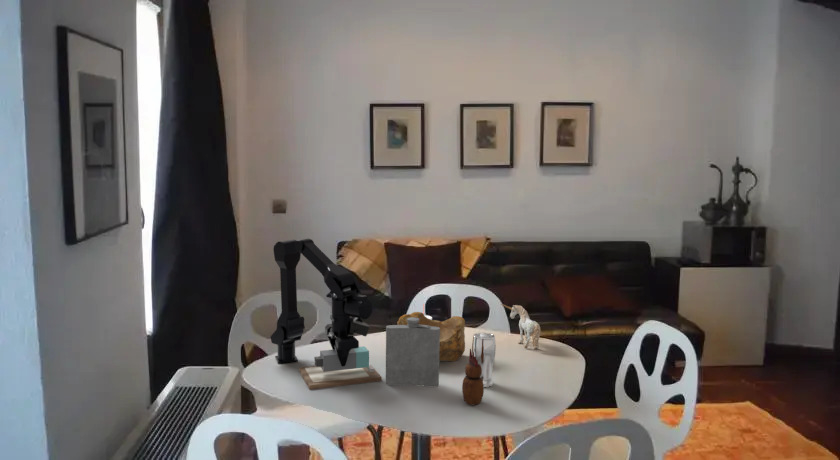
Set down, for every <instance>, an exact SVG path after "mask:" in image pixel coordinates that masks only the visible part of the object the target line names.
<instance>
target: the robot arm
mask: <svg viewBox="0 0 840 460" xmlns="http://www.w3.org/2000/svg"><path fill="white" fill-rule="evenodd" d="M301 255H302V256H304V257H305V259H306V260H308V262H309V263H310V264H311V265H312V266H313V267H314V268H315V269H316V270H317V271H318V272H319V273H320V274H321V275H322V277H323V282H324V284H325V285H326V286H327V288H328V289H329V292H328V293H327V294H326V298H328V299H329V298H330V299H331V315H330V316H329V319H330V320H331V323H328V324H326V325H325V326H324V334H325V335H326V336H327V337H326V338H327V340H328V342H329V345H330V347H331V350H333V349H335V350H336V353H337V355H338V358H339V361H340V363H341V366H345V365H346V362H347V358H348V355H349V352H350V350H351V349H355V348H359V347H360V341H359V340H358V339H357V338H356V337H355V336H354V335H355V334H358V335H362V337H367V336H368V333H369V330H370V325H369V324H368V323H366V322H365V321H363V320H367V319H369V318H370V317H371V315H372V312H373V304H372V303H371V301H370V300H369V299H368V296H367V295H365V294H364V295H362V293H361V290H360V287H359V285H358V284H357V282H356V280H355V278H354V275H353V274H352V272H351V271H349V270H347V268H345V267H343V266H340V265H337V264H336V263H334V262H333V261H332V260H331V259H330V258H329V257H328V256H327V255H326V254H325V253H324V252H323V251H322V250H321V249H320V248H319V247H318V246H317V245H316V244H315V243H314V240H313V239H312V238H301V239H297V240H296V239H288V240H280V241H277V242H276V243H275V244H274V245H273V256H274V261H275V263H276V264H277V266H278V268H279V271H280V272H279V273H280V274H279V275H280V276H279V277H280V298H281V299H280V303H281V305H280V307H281V313H280V315H279V316H278V319H277V322H276V329H275V331H274V332H273V333H272V334H271V335H270V340H271V341H270V342H271V344H274V345H277V347H276V348H277V350H276V351H277V355H275V360H276V362H277V364H284V363H285V364H286V363H294V362H295V363H296V362H298V361H299V359H298V357H297V356H296V342H297V341H301V339H302V335H303V334H304V331H305V328H306V327H305V318H304V316H301V314H300V313H299V312H298V296H297V295H298V294H297V293H298V292H297V291H298V290H297V266H298V264H299V262H300V260H301Z"/></svg>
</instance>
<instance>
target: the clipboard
mask: <svg viewBox="0 0 840 460" xmlns="http://www.w3.org/2000/svg"><path fill="white" fill-rule="evenodd" d="M298 369H299V371H300V372H299V371H298V372H299V373H300V375H301V377H302V379H303V380H304V382H305V384H306V386H307V388H308V389H309V390H316V389H323V388H330V387H331V388H333V387H340V386H341V387H342V386H349V385H357V384H366V383H374V382H383V381H382V375H381V374H380V373H379V372H378V371H377V370H376V369H375V367H374V366H373V365H372V363H370V362H369V367H364V368H355V369H347V370H338V371H329V372H324V371H323V370H322V368H321V367H316V366H315V365H311V366H301V367H298Z"/></svg>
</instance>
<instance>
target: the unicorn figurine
mask: <svg viewBox="0 0 840 460" xmlns="http://www.w3.org/2000/svg"><path fill="white" fill-rule="evenodd" d="M500 305H501V306H502V307H505V308H507V309H509V310H511V312H510V314H509V318H511V319H512V320H513V319H515V316H516V315H519V317H520V319H519V322H518V326H519V331H520V333H519V334H520V338H519V340H518V344H521V345H523V344H524V345H523V346H524V349H528V346H529V344H530V343H529V341H531V339H532V347H533V349H534V350H538V349H539V348H540V345H539V340H540V336H541V326H540V324H539V323H538V322H537V321H535V320H532V319H530V316H529V313H528V311H527V310H526V309H525V308H524V307H523V306H522V305H518V304H515V305H514V304H513V305H512V307H511V306H508V305H506V304H503V303H501V304H500ZM531 336H532V338H531ZM524 339H525V342H524Z"/></svg>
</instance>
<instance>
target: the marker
mask: <svg viewBox="0 0 840 460" xmlns="http://www.w3.org/2000/svg"><path fill="white" fill-rule="evenodd" d="M369 363H370V351H369V349H368V348H367V347H366V346H365V345H364V346H359V348H355V349H351V350H350V352H349V355H348V358H347V362H346V365H345V366H341V363H340V361H339V358H338V355H337V353H336V350H335V349H325V350H320V351H319V356H314V366H316V367H321V368H322V370H323V371H324V372H329V371H338V370H347V369H355V368H364V367H369Z"/></svg>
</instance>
